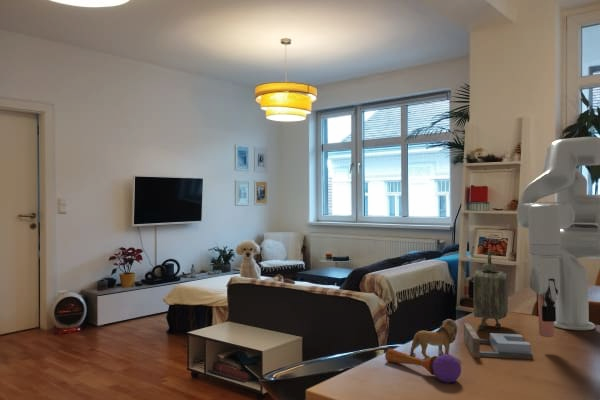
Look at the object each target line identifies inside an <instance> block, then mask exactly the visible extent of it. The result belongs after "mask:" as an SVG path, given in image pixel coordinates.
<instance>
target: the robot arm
mask: <svg viewBox="0 0 600 400" xmlns="http://www.w3.org/2000/svg"><path fill="white" fill-rule="evenodd" d="M585 166H586V167H587V166H600V136H599V137H598V136H581V137H571V138H570V137H569V138H561V139H557V140H555V141H553V142H551V143H550V144H549V145H548V147H547V149H546V156H545V160H544V166H543V170H542V174H541V175H539V176H537V178H535V179H533V180H532V181H531V182H530V183H528V185H527V186H526V187H525V188H524V189H523V190H522V192H521V193H520V197H519V200H518V204H517V208H516V220H517V223H518V224H519V226H520V227H522V228H524V229H528V255H529V256H530V262H529V263H530V265H529V267H530V268H529V269H530V270H529V288H530V289H531V290H532V291H534V292H535V293H536V315H537V317H538V318H539V310H538V294H539V295H543V306H542V320H543V321H546V322H554V328H559V329H564V330H570V331H591V330H594V329H595V324H594V323H593V322H591V321H589V320H590V319H589V313H590V311H589V273H588V269H587V267H586V266H585V265H584V264H583V262H581V261H580V259H594V260H595V259H598V260H600V194H588V180H587V178H586V176H584V175H583V173H582V172H581V171H579V169H577V167H585ZM554 194H557V195H556V197H557V198H556V201H539V200H541V199H543V198H546V197H549V196H552V195H554ZM572 225H595V226H596V227H597V228H596V227H571V226H572ZM546 292H549V294H545V293H546ZM546 297H549V298H547V300H546Z"/></svg>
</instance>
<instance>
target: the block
mask: <svg viewBox="0 0 600 400" xmlns="http://www.w3.org/2000/svg"><path fill="white" fill-rule="evenodd" d="M489 339H490V344H489V345H490V346H491V348H492V349H493V350H494V352H502V353H522V354H532V344H531V343H530V342H529V341H524V337H523V335H521V334H519V333H518V334H517V333H495V332H489Z"/></svg>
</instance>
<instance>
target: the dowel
mask: <svg viewBox="0 0 600 400" xmlns="http://www.w3.org/2000/svg"><path fill="white" fill-rule="evenodd" d="M545 294H549V292H546V293H545ZM547 298H549V297H546V300H547ZM542 306H543V295H539V294H538V310H539V317H538V335H539V336H540V337H543V338H554V337H555V326H554V322H546V321H543V320H542Z"/></svg>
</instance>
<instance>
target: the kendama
mask: <svg viewBox="0 0 600 400" xmlns="http://www.w3.org/2000/svg"><path fill="white" fill-rule="evenodd" d="M384 355H385V356H384V358H385V361H386V362H388V363H395V364H404V365H405V364H406V365H416V366H422V367H423V368H425V370H427V372H429V373H430V374H431V375H432V376H434V377H436V378H437V379H438V380H439V381H440V382H444V383H446V384H450V383H454V382H456V381H458V379H459V378H460V377H461V373H462V366H461V364H460V361H459V360H458V359H457V358H456V357H455V356H454V355H452V354H450V355H448V354H445V353H443V354H439V355H438V356H436V355H434V356H430V358H428V359H426V358H424V359H423V360H422V359H420V358H417V357H416V356H410V354H406V353H403V352H402V351H398V350H396V349H393V348H388V349H386V352H385V354H384Z"/></svg>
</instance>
